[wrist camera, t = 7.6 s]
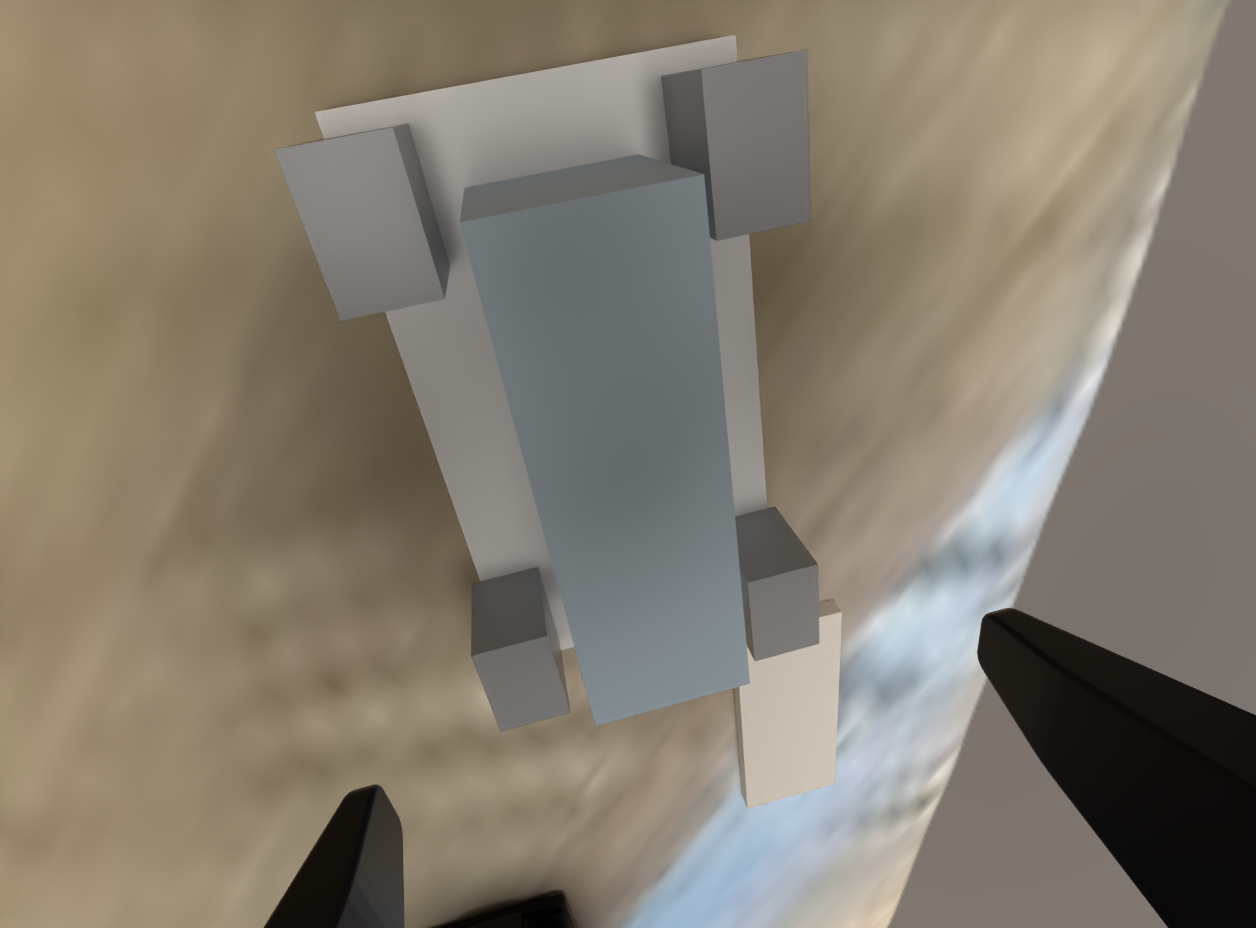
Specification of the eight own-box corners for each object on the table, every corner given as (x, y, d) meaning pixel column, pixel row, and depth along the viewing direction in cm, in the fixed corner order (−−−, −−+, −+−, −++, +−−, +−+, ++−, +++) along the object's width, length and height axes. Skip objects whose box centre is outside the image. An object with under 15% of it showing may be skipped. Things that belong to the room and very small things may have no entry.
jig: (768, 573, 23) (819, 655, 20) (500, 644, 22) (505, 743, 19) (731, 36, 15) (806, 17, 12) (312, 113, 14) (260, 116, 11)
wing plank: (822, 760, 30) (834, 783, 29) (737, 784, 29) (747, 808, 28) (826, 590, 25) (841, 611, 24) (725, 616, 24) (736, 638, 23)
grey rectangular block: (694, 564, 21) (750, 683, 17) (571, 596, 21) (595, 726, 16) (639, 154, 15) (704, 174, 11) (464, 188, 15) (459, 222, 10)
